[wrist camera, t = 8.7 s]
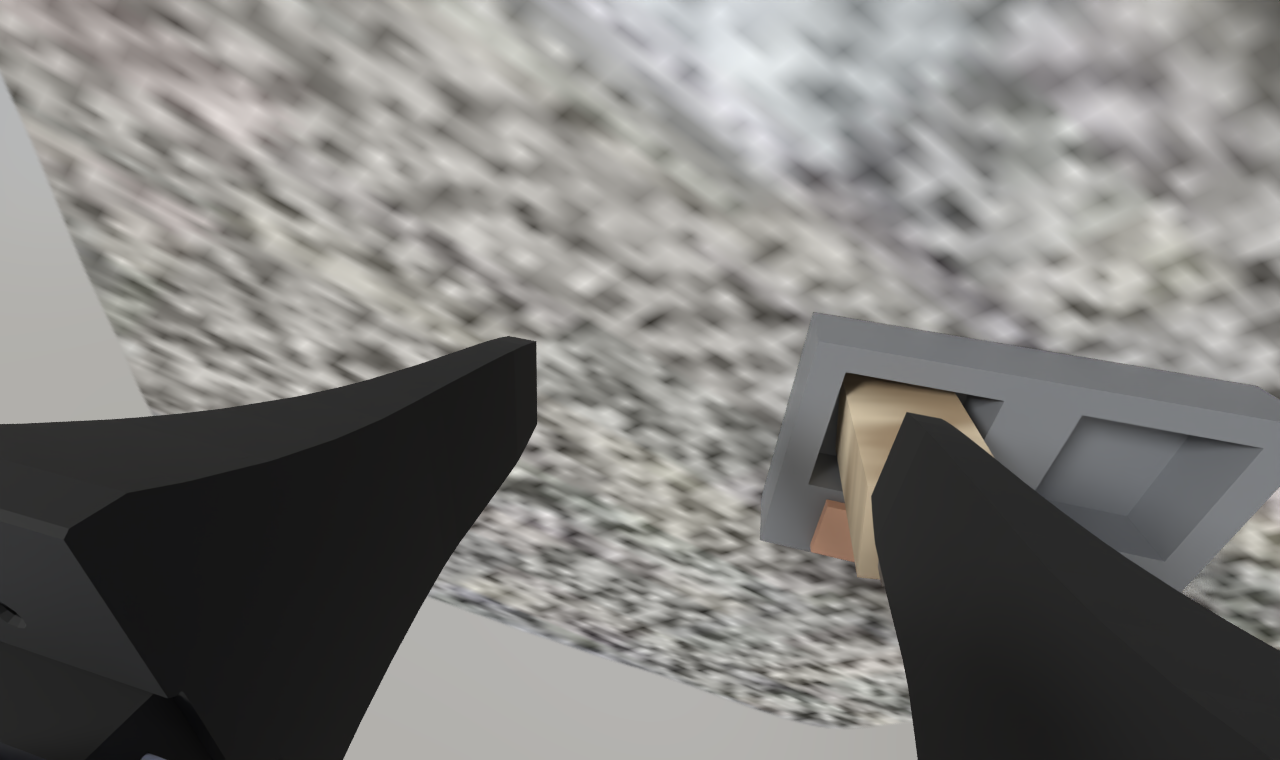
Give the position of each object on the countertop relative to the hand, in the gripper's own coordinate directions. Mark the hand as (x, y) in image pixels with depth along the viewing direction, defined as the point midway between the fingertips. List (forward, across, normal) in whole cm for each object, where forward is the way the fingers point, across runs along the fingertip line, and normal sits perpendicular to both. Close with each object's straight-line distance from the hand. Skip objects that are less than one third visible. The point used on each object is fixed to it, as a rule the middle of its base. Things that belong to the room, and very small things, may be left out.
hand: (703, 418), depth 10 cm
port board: (+10, -10, +6) cm, 15 cm away
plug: (+10, -6, +4) cm, 12 cm away
